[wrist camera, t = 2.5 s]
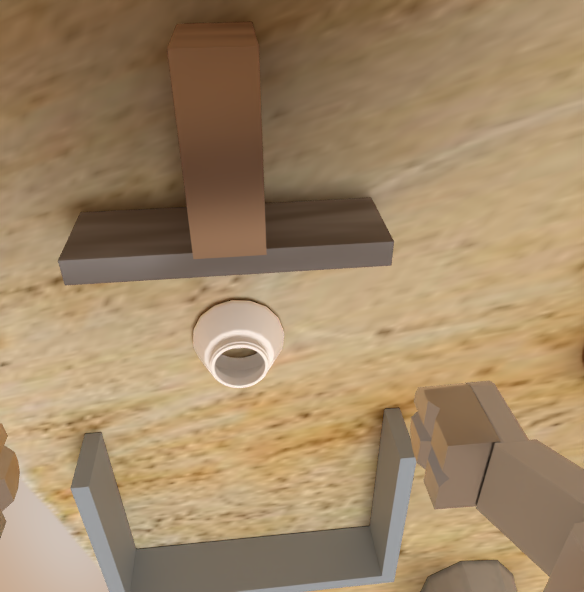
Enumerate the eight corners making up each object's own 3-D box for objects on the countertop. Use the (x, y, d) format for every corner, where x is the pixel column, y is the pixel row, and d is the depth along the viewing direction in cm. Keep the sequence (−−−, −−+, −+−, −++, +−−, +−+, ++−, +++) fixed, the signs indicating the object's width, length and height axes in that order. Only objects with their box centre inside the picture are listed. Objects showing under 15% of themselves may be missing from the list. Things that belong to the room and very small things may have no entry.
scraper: (35, 26, 22) (-8, 53, 18) (385, 18, 23) (420, 41, 19) (86, 234, 27) (62, 292, 23) (369, 219, 28) (394, 271, 24)
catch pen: (84, 433, 35) (70, 488, 31) (399, 407, 36) (417, 457, 33) (124, 558, 43) (116, 611, 39) (381, 532, 44) (393, 581, 41)
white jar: (241, 280, 30) (174, 331, 31) (243, 312, 27) (171, 366, 29) (299, 333, 32) (235, 378, 34) (306, 367, 30) (236, 414, 31)
